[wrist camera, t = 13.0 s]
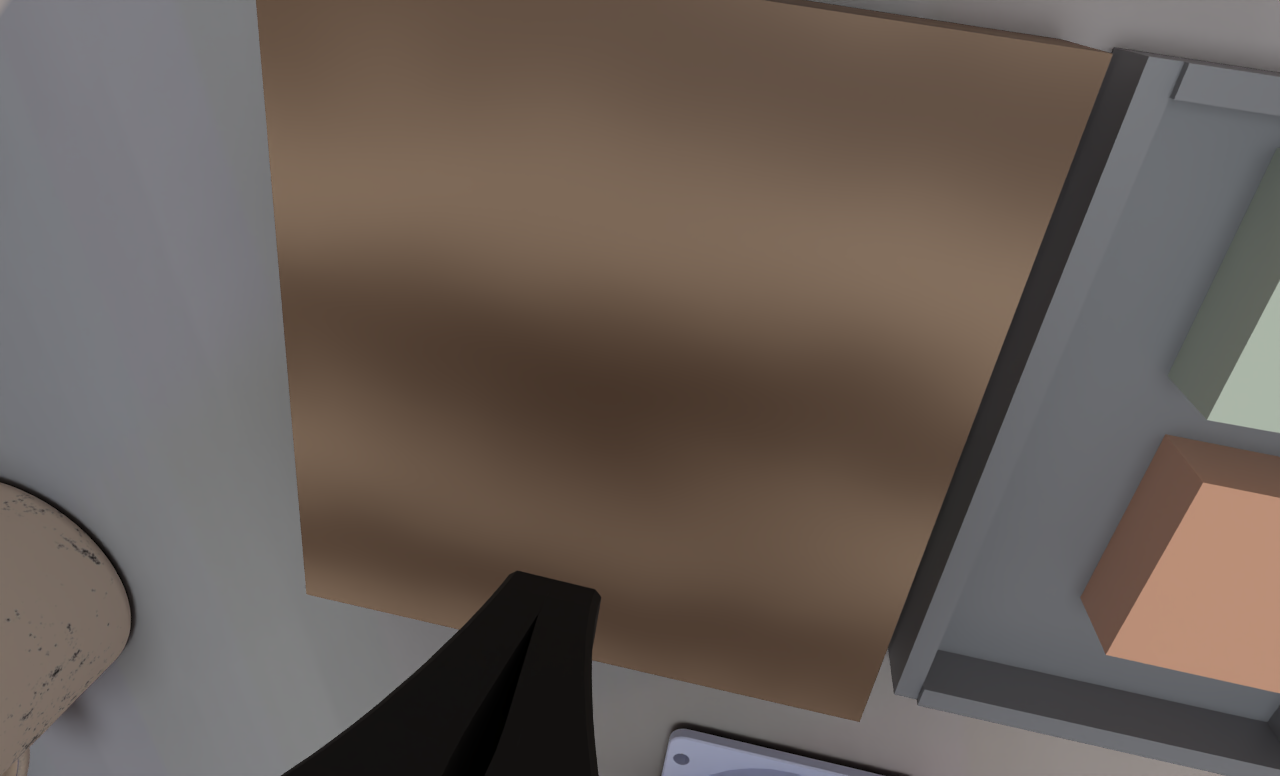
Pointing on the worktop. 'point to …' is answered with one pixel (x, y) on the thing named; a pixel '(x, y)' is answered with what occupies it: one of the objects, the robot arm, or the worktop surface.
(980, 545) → the box
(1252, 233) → the sage tile
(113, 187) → the worktop surface
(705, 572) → the walnut plate
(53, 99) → the worktop surface
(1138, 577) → the terracotta tile
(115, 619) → the cream lidded canister
